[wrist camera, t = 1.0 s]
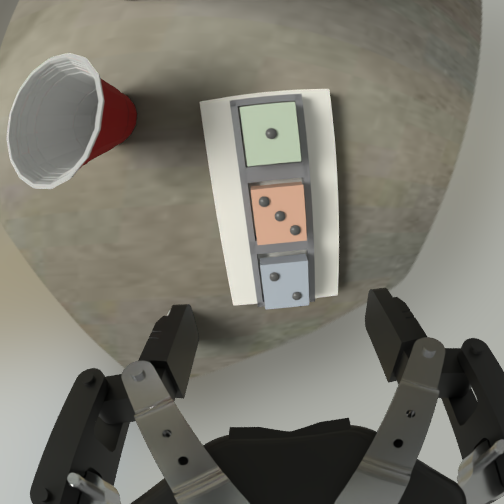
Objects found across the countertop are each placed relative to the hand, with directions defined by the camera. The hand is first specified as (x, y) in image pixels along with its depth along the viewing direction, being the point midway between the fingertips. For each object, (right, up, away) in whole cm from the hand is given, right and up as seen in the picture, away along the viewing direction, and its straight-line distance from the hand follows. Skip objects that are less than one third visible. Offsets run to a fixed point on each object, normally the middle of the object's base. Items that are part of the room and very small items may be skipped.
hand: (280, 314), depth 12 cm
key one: (0, +13, +10) cm, 16 cm away
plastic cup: (-16, +17, +13) cm, 27 cm away
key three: (+1, +6, +13) cm, 15 cm away
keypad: (+1, +8, +16) cm, 18 cm away
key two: (+2, 0, +16) cm, 16 cm away
